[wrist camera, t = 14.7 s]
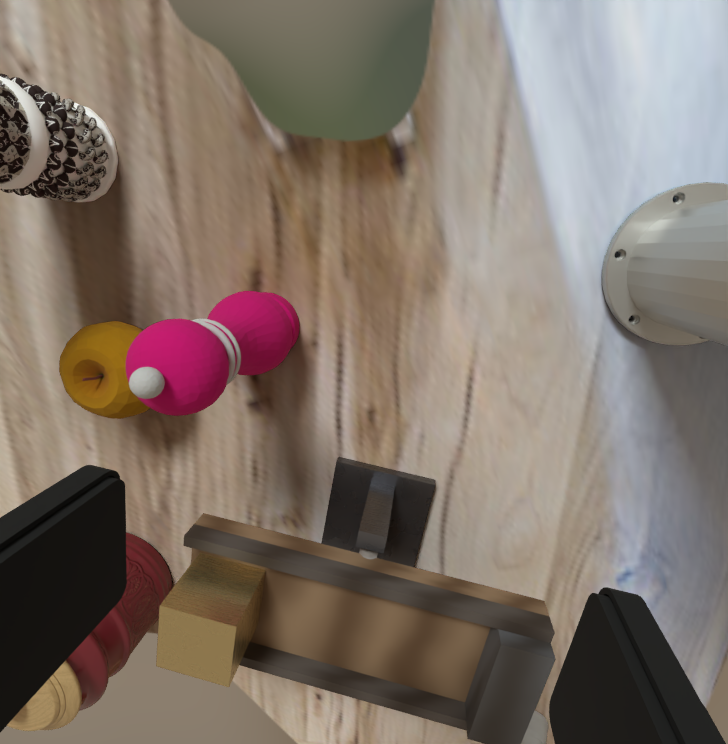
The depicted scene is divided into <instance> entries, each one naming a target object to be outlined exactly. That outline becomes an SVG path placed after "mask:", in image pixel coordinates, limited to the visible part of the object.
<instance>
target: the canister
mask: <svg viewBox="0 0 728 744" xmlns="http://www.w3.org/2000/svg"><path fill="white" fill-rule="evenodd" d="M126 570H127V584H126V589H125V592H124V594H123V596H122V598H121V599H120V601H119V602H118V603H117V605H116V606H115V607H114V608H113V609H112V610H111V611H110V612H109V613H108V614H107V616H106V617H105V618H104V619H103V620H102V621H101V622H100V623H99V624H98V625H97V627H96V628H95V629H94V630H93V631H92V632H91V633H90V634H89V635H88V636H87V638H86V639H85V640H84V641H83V642H82V643H81V644H80V645H79V646H78V647H77V649H76V650H75V651H74V652H73V653H72V654H71V655H70V656H69V657H68V658H67V660H66V661H65V662H64V663H63V664H62V665H61V666H60V667H59V668H58V669H57V671H56V672H55V673H54V674H53V675H52V676H51V677H50V678H49V679H48V680H47V682H46V683H45V684H44V685H43V686H42V687H41V688H40V689H39V690H38V691H37V693H36V694H35V695H34V696H33V697H32V698H31V699H30V700H29V701H28V702H27V704H26V705H25V706H24V707H23V708H22V709H21V710H20V711H19V712H18V713H17V715H16V716H15V717H14V718H13V719H12V720H11V721H10V722H9V723H8V724H7V726H9V727H11V728H15V729H18V730H23V731H35V730H53V729H57V728H61V727H63V726H65V725H67V724H68V723H70V722H71V721H72V720H73V719H74V718H75V716H76V715H77V713H78V711H80V710H83V709H86V708H88V707H90V706H92V705H93V704H95V703H96V702H97V701H98V700H99V699H100V698H101V697H102V695H103V694H104V692H105V690H106V687H107V683H108V678H109V677H111V676H113V675H115V674H116V673H117V672H118V671H120V670H121V669H122V668H123V667H124V665H125V664H126V662H127V660H128V658H129V656H130V654H131V653H132V651H133V650H134V648H135V647H136V646H137V645H138V643H139V642H140V640H141V639H142V638H143V636H144V635H145V634H146V632H147V631H148V630H149V628H150V627H151V626H152V625H153V624H154V623H155V622H156V621H157V620H158V619H159V608H160V604H161V603H162V602H163V601H164V599H165V598H166V597H167V595H168V594H169V593H170V591H171V590H172V579H171V575H170V571H169V569H168V567H167V565H166V563H165V561H164V560H163V558H162V557H161V556H160V554H159V553H158V552H157V551H156V550H155V549H154V548H153V547H152V546H151V545H150V544H148V543H147V542H145V541H144V540H142V539H141V538H139V537H137V536H135V535H132V534H130V533H126Z"/></svg>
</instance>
